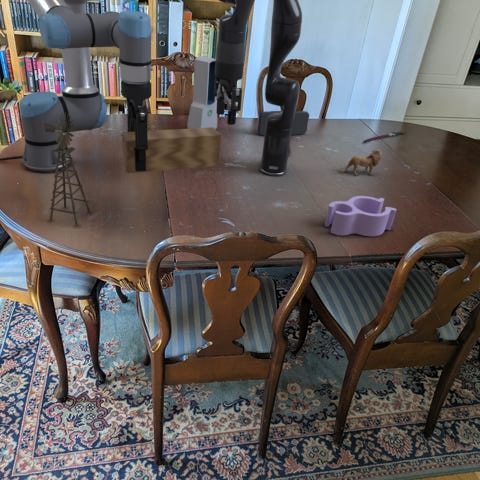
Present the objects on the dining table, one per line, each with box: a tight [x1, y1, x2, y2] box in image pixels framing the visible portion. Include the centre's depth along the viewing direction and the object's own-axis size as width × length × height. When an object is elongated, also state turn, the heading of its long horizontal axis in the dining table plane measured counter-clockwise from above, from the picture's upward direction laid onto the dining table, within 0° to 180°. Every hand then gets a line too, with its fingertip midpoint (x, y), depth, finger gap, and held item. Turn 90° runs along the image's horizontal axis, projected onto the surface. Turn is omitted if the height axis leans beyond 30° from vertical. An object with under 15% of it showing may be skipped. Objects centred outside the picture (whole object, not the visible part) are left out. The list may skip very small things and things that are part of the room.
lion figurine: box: [343, 149, 383, 176], centre depth 175 cm, size 15×5×9 cm, turn 110°
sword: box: [363, 131, 407, 144], centre depth 214 cm, size 31×3×1 cm, turn 126°
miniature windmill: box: [44, 113, 92, 227], centre depth 124 cm, size 9×8×30 cm
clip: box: [324, 195, 398, 237], centre depth 141 cm, size 20×12×7 cm, turn 109°
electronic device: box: [186, 55, 218, 130], centre depth 192 cm, size 12×8×30 cm, turn 148°
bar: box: [121, 127, 222, 174], centre depth 130 cm, size 26×6×9 cm, turn 113°
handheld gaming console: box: [257, 110, 310, 136], centre depth 203 cm, size 23×3×10 cm, turn 108°
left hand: (137, 165), depth 129 cm, fingers closed on bar, 6 cm apart
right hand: (225, 119), depth 132 cm, fingers open, 8 cm apart
